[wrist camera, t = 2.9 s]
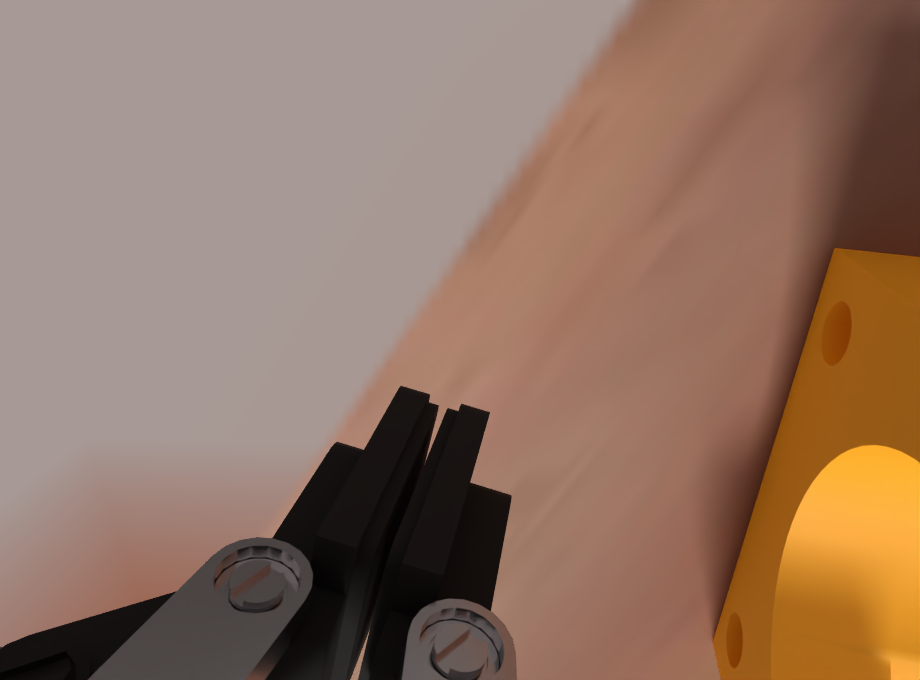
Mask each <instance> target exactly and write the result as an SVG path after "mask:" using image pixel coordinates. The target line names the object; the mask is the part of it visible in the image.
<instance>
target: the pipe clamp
mask: <svg viewBox="0 0 920 680" xmlns="http://www.w3.org/2000/svg"><path fill="white" fill-rule="evenodd" d="M713 646H714V650H715V654H716V659H717V663H718V668H719V672H720V677H721V680H920V257H916V256H906V255H897V254H888V253H878V252H869V251H860V250H850V249H841V248H834V251H833V254H832V257H831V261H830V264H829V267H828V270H827V274H826V277H825V280H824V283H823V287H822V290H821V293H820V296H819V299H818V303H817V306H816V309H815V312H814V316H813V319H812V322H811V325H810V329H809V332H808V335H807V338H806V341H805V345H804V348H803V351H802V354H801V358H800V361H799V364H798V367H797V371H796V374H795V377H794V380H793V384H792V387H791V390H790V393H789V396H788V400H787V403H786V406H785V409H784V413H783V416H782V419H781V422H780V426H779V429H778V432H777V435H776V438H775V442H774V445H773V448H772V451H771V455H770V458H769V461H768V464H767V468H766V471H765V474H764V477H763V481H762V484H761V487H760V490H759V493H758V497H757V500H756V503H755V506H754V510H753V513H752V516H751V519H750V523H749V526H748V529H747V532H746V535H745V539H744V542H743V545H742V548H741V552H740V555H739V558H738V561H737V565H736V568H735V571H734V574H733V577H732V581H731V584H730V587H729V590H728V594H727V597H726V600H725V603H724V607H723V610H722V613H721V616H720V620H719V623H718V626H717V629H716V632H715V636H714V639H713Z"/></svg>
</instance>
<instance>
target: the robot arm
mask: <svg viewBox="0 0 920 680" xmlns="http://www.w3.org/2000/svg"><path fill="white" fill-rule="evenodd" d="M429 398H430V394H427V393H423V392H420V391H417V390H413V389H410V388H407V387H403V386H400V388H399V389H398V391H397V393H396V394H395V396H394V398H393V400H392V401H391V403H390V405H389V407H388V408H387V410H386V412H385V414H384V415H383V417H382V419H381V421H380V423H379V424H378V426H377V428H376V430H375V431H374V433H373V435H372V437H371V438H370V440H369V442H368V444H367V445H366V447H365V449H364V450H362V449H359V448H356V447H352V446H349V445H346V444H343V443H339V442H336V443H335V444H334V445H333V446H332V447H331V449H330V450H329V452H328V453H327V455H326V456H325V458H324V459H323V461H322V463H321V464H320V466H319V467H318V469H317V470H316V472H315V473H314V475H313V476H312V478H311V479H310V481H309V483H308V484H307V486H306V487H305V489H304V490H303V492H302V493H301V495H300V496H299V498H298V499H297V501H296V503H295V504H294V506H293V507H292V509H291V510H290V512H289V513H288V515H287V516H286V518H285V519H284V521H283V522H282V524H281V526H280V527H279V529H278V530H277V532H276V533H275V535H274V536H273V538H259V537H256V538H250V539H244V540H239V541H237V542H234V543H232V544H229V545H227V546H225V547H224V548H222V549H221V550H220V551H218V552H217V553H216V554H214V555H213V556H212V557H211V558H210V559H209V560H208V561H207V562H206V563H205V564H204V565H203V566H202V567H201V568H200V569H199V570H198V571H197V572H196V573H195V574H194V575H193V576H192V577H191V578H190V579H189V580H188V581H187V582H186V583H185V584H184V585H183V586H182V587H181V588H180V589H179V590H178V591H176V592H173V593H170V594H166V595H163V596H160V597H156V598H153V599H149V600H146V601H143V602H139V603H136V604H133V605H129V606H126V607H122V608H119V609H116V610H112V611H109V612H106V613H102V614H99V615H96V616H92V617H89V618H85V619H82V620H79V621H75V622H72V623H69V624H65V625H62V626H59V627H55V628H52V629H48V630H45V631H42V632H39V633H35V634H32V635H29V636H26V637H24V638H21V639H19V640H17V641H14V642H11V643H9V644H7V645H5V646H4V647H0V680H350V679H351V676H352V674H353V671H354V669H355V666H356V663H357V661H358V658H359V656H360V653H361V650H362V648H363V645H364V643H365V640H366V637H367V635H368V632H369V630H370V632H369V636H368V640H367V644H366V649H365V653H364V657H363V661H362V666H361V670H360V674H359V678H358V680H517V670H516V652H515V648H514V643H513V639H512V637H511V635H510V633H509V631H508V630H507V628H506V626H505V625H504V624H503V622H502V621H501V620H500V619H499V618H498V617H497V616H496V615H495V614H494V613H492V612H491V607H492V601H493V596H494V590H495V585H496V580H497V574H498V569H499V563H500V558H501V553H502V547H503V542H504V536H505V531H506V526H507V520H508V515H509V509H510V504H511V495H509V494H505V493H502V492H499V491H496V490H492V489H489V488H486V487H483V486H479V485H476V484H473V483H470V481H471V477H472V474H473V470H474V467H475V463H476V460H477V456H478V453H479V449H480V446H481V442H482V439H483V435H484V432H485V428H486V425H487V421H488V418H489V414H490V412H487V411H484V410H480V409H477V408H474V407H470V406H467V405H464V404H461V406H460V408H459V411H456V410H452V409H449V408H447V410H446V413H445V415H444V418H443V420H442V423H441V425H440V428H439V430H438V433H437V435H436V438H435V440H434V443H433V445H432V448H431V450H430V452H429V455H428V457H427V460H426V456H427V452H428V448H429V444H430V440H431V436H432V432H433V428H434V424H435V420H436V416H437V412H438V407H439V405H436V404H432V403H429ZM425 460H426V462H425ZM424 464H425V465H424Z"/></svg>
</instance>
